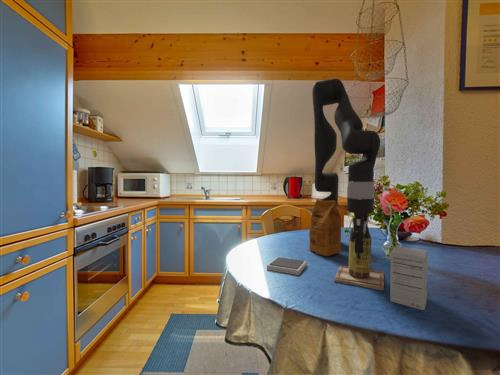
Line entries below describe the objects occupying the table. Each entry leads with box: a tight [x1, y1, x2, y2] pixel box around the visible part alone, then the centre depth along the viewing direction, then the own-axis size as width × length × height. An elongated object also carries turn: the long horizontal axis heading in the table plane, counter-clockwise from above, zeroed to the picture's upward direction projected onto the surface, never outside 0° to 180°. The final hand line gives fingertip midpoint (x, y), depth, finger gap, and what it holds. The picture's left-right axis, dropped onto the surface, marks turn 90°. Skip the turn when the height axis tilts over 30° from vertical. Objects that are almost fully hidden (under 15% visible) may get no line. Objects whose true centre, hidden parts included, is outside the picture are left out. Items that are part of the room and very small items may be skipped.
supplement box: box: [389, 245, 429, 311], centre depth 64 cm, size 7×7×13 cm
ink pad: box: [266, 256, 308, 276], centre depth 88 cm, size 10×11×2 cm
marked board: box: [333, 265, 385, 291], centre depth 78 cm, size 13×13×1 cm
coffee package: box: [308, 198, 342, 257], centre depth 105 cm, size 10×12×22 cm
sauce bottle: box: [347, 213, 372, 278], centre depth 78 cm, size 6×6×20 cm
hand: (359, 249), depth 78 cm, fingers open, 8 cm apart
